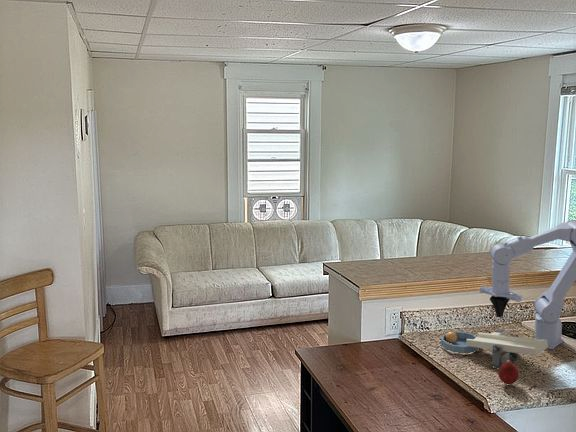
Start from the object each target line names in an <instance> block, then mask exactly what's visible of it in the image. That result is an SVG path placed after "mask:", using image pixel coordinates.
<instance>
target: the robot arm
mask: <svg viewBox="0 0 576 432" xmlns="http://www.w3.org/2000/svg"><path fill="white" fill-rule="evenodd" d="M556 240H561V241H564V242H569V243H570V245H571V246H570V247H571V249H572V251H571V254H570V255H569V257H568V258H567V260H566V262H565V263H564V264H563V265H562V268H561V269H560V271H559V272H558V274H557V276H556V278H555V279H554V281H553V282H552V283H551V285H550V287H549V289H547V290H545V291H543V292H542V294H541V295H540V296H539V297H537V298H536V299H534V302H533V309H534V310H535V311H536V314H535V316H534V317H535V318H534V319H535V322H534V338H533V339H539V340H543V339H545V340H547V343H548V348H547V349H548V350H553V349H555V348H556V347H558V346H559V345H560V344H562V343H563V342H564V341H565V340H564V338H562V334H563V333H562V331H563V330H562V329H563V327H562V326H563V324H562V323H563V322H562V320H561V319H560V318H561V316H562V309H563V308H564V306H565V305H564V302H565V301H564V299H565V297H566V296H567V293H568V292H569V291H570V290H571V288H572V287H573V284H574V283H575V282H576V220H575V219H571V220H567V221H566V222H561V223H558V224H557V225H556V226H554V227H551V228H549V229H546V230H544V231H542V232H540V233H537V234H535V235H533V236H531V237H528V236H525V235H523V236H522V235H518V236H517V237H516V238H515V239H513V240H510V241H504V242H503V244H502V243H498V244H495V245H493V247H492V248H491V250H489V254H490V256H491V258H492V259H491V261H492V263H491V287H489V286H485V285H483V286H480V287H479V294H487V295H491V297H489V300H490V302H491V304H492V305H493V308H494V312H495V316H496V318H502V317H503V316H504V312H505V309H506V307H507V306H508V303H509V302H510V300H511V301H515V302H516V303H520V302H522V297H523V296H522V294H519V293H516V292H514V291H511V290H510V263H511V261H512V260H513V259H516V258H518V257H520V256H523V255H526V254H529V253H531V252H532V251H533V249H534V248H535V247H537V246H541V245H544V244H548V243H550V242H553V241H556Z"/></svg>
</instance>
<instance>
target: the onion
mask: <svg viewBox="0 0 576 432" xmlns="http://www.w3.org/2000/svg"><path fill="white" fill-rule="evenodd" d="M497 371H498V372H497V374H498V379H500V381H501V382H502V383H503V382H504V384H505V383H506V384H510V385H513V384H514V383H516V382H518V380H519V377H520V375H519V374H520V373H519V370H518V368H517V366H516V365H515V364H513V363H511V361H510V360H507V362H506V363H505V364H503V365H501V367H500V368H499V370H498V369H497ZM506 384H505V385H506Z"/></svg>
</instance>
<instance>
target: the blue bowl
mask: <svg viewBox="0 0 576 432" xmlns="http://www.w3.org/2000/svg"><path fill="white" fill-rule="evenodd" d="M453 332H454V333H455V334H456V335H457V340H456V342H454V343H452V344H450V343H447V342H446V341H447V340H446V334H447V333H448V331H447V332H446V333H444V334H442V335H441V339H440V342H441V343H440V344H441V345H442V346H443V347H444V348H445V349H447V350H450V351H453V352H458V353H469V352H474V351H476V350H478V351H479V348H478V347H471V346H467V341H466V340H467V339H475V338H476V337H477V335H475V334H473V333H469V332H466V331H456V330H455V331H453ZM441 345H440V346H441Z"/></svg>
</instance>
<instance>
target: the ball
mask: <svg viewBox="0 0 576 432" xmlns="http://www.w3.org/2000/svg"><path fill="white" fill-rule="evenodd" d="M447 332H448V331H447ZM447 332H446V333H447ZM446 333H445V334H446ZM446 340H447V342H449V343H454V342H456V340H457V335H456V334H455V333H454V331H449V332H448V333H447V334H446Z"/></svg>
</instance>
